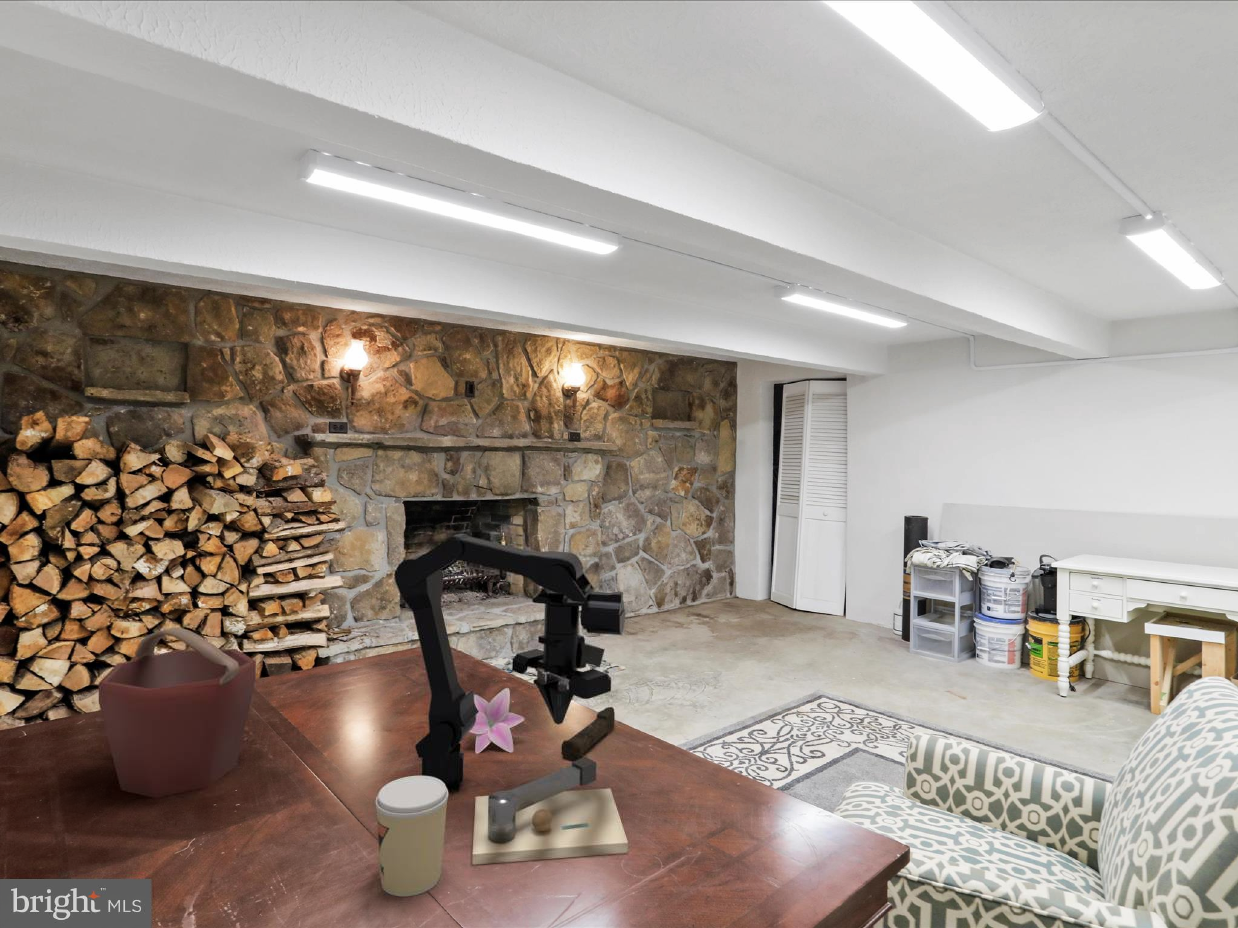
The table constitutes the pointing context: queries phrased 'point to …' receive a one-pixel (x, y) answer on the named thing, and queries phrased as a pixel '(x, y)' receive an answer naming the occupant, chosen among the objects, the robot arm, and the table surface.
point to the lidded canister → (411, 834)
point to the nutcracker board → (554, 829)
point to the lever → (533, 797)
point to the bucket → (176, 714)
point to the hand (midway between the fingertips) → (558, 723)
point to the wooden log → (589, 735)
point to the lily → (494, 722)
